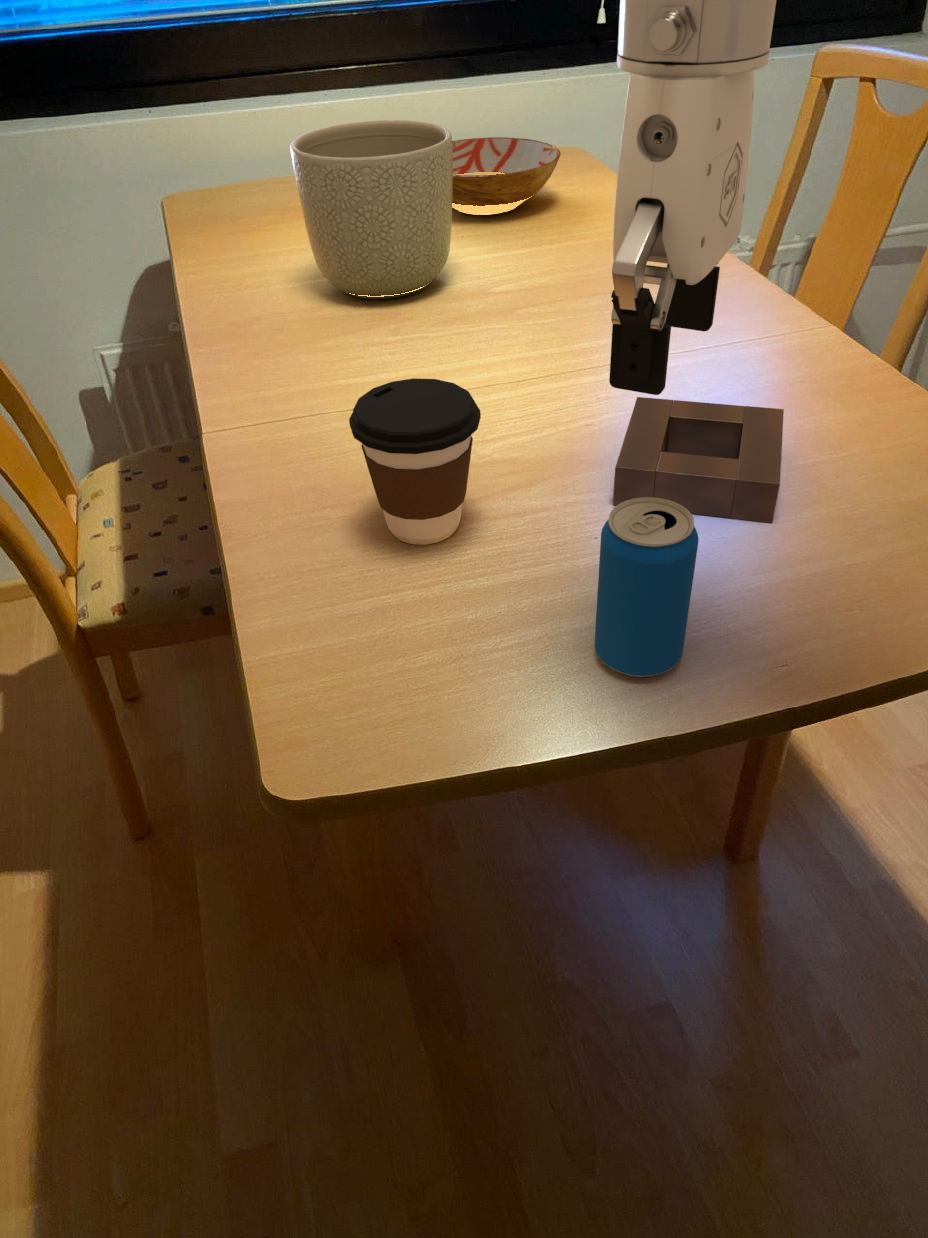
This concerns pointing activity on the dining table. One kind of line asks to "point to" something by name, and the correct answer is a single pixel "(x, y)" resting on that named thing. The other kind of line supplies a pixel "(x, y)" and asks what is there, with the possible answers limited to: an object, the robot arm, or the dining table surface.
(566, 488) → the dining table surface
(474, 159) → the bowl
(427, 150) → the planter
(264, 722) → the dining table surface
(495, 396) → the dining table surface
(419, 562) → the dining table surface
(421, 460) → the coffee cup
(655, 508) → the beverage can
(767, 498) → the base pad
